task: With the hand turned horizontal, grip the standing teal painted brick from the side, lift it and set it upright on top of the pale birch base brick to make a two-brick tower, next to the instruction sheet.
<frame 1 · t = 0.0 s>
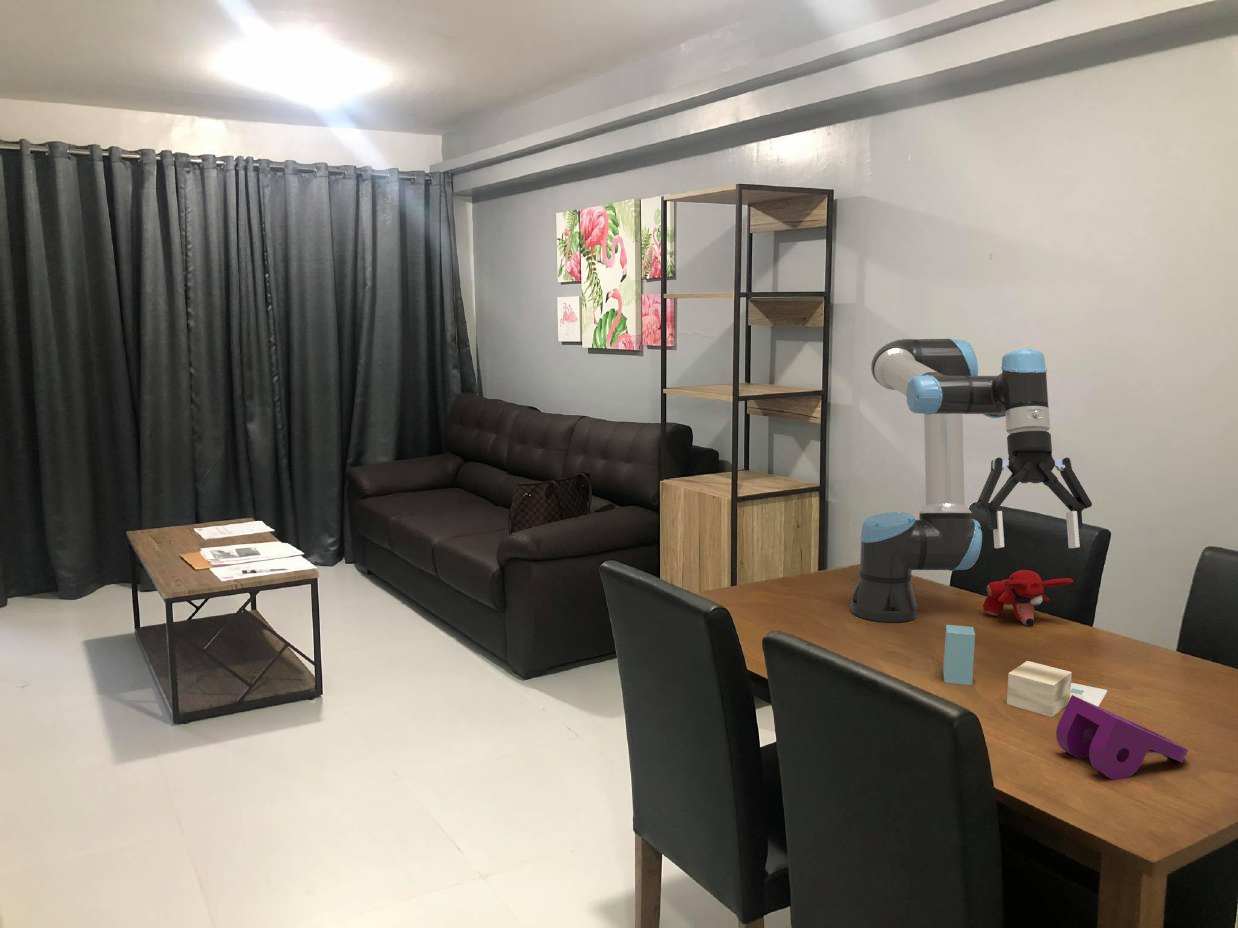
hand: (1036, 547, 177), 28 cm above the table, fingers open, 13 cm apart
instruction sheet: (1074, 695, 181), on the table
mounting bracket: (1126, 762, 155), on the table
teal brick: (957, 679, 189), on the table
toy: (1021, 621, 225), on the table
birch base brick: (1038, 703, 177), on the table, touching instruction sheet
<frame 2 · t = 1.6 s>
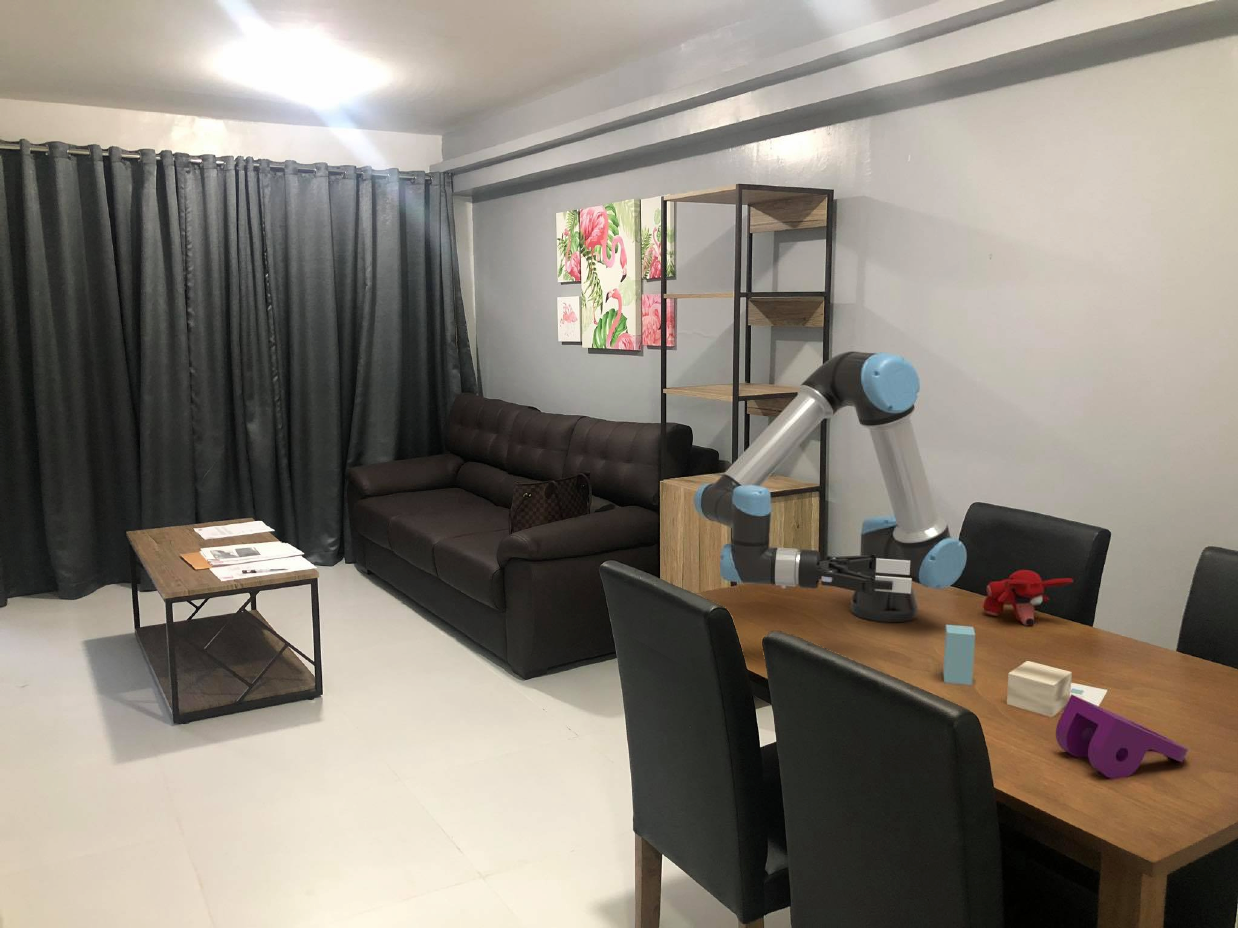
hand: (910, 576, 188), 20 cm above the table, fingers open, 13 cm apart
nothing on the table moved.
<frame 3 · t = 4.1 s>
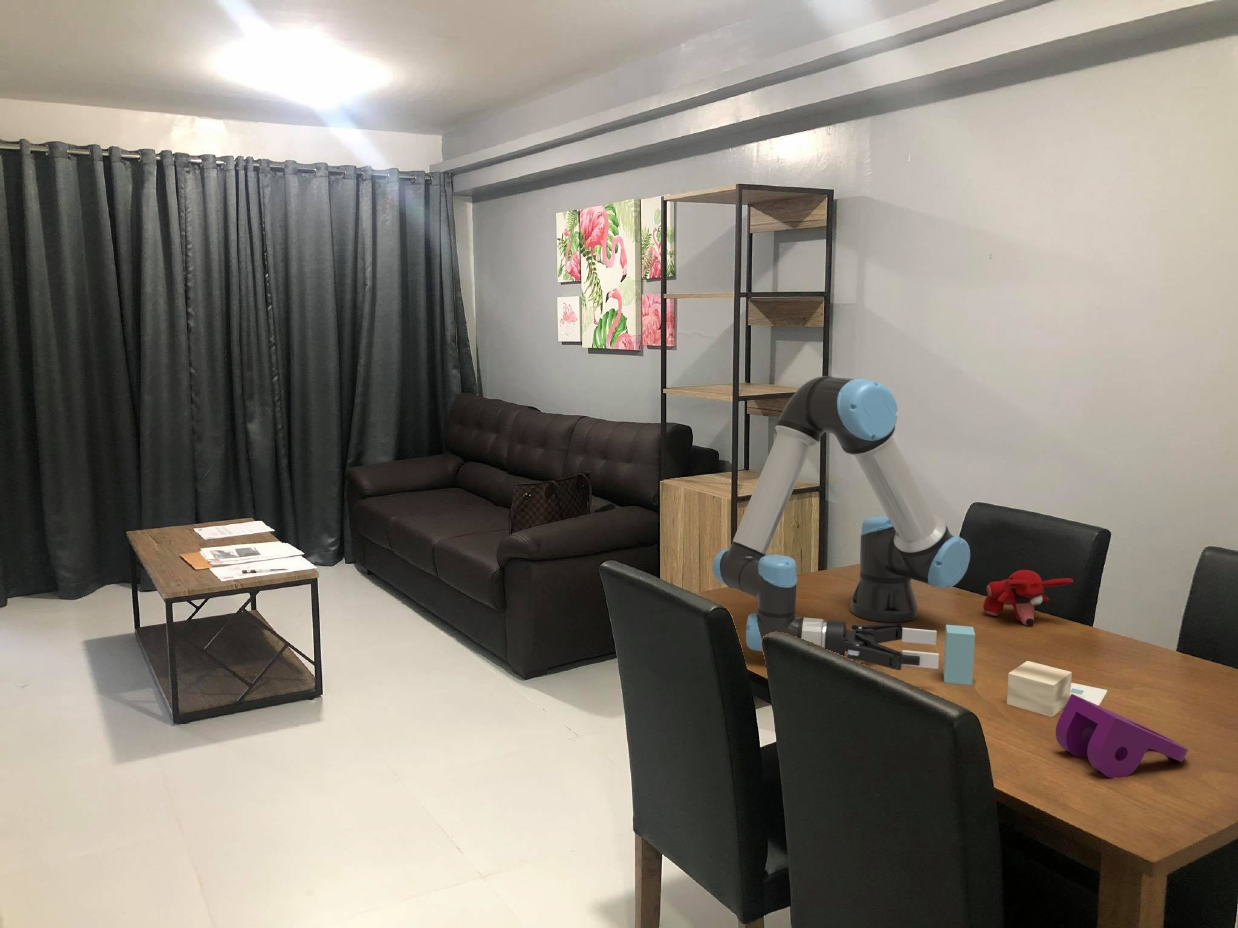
hand: (937, 649, 188), 6 cm above the table, fingers open, 13 cm apart
nothing on the table moved.
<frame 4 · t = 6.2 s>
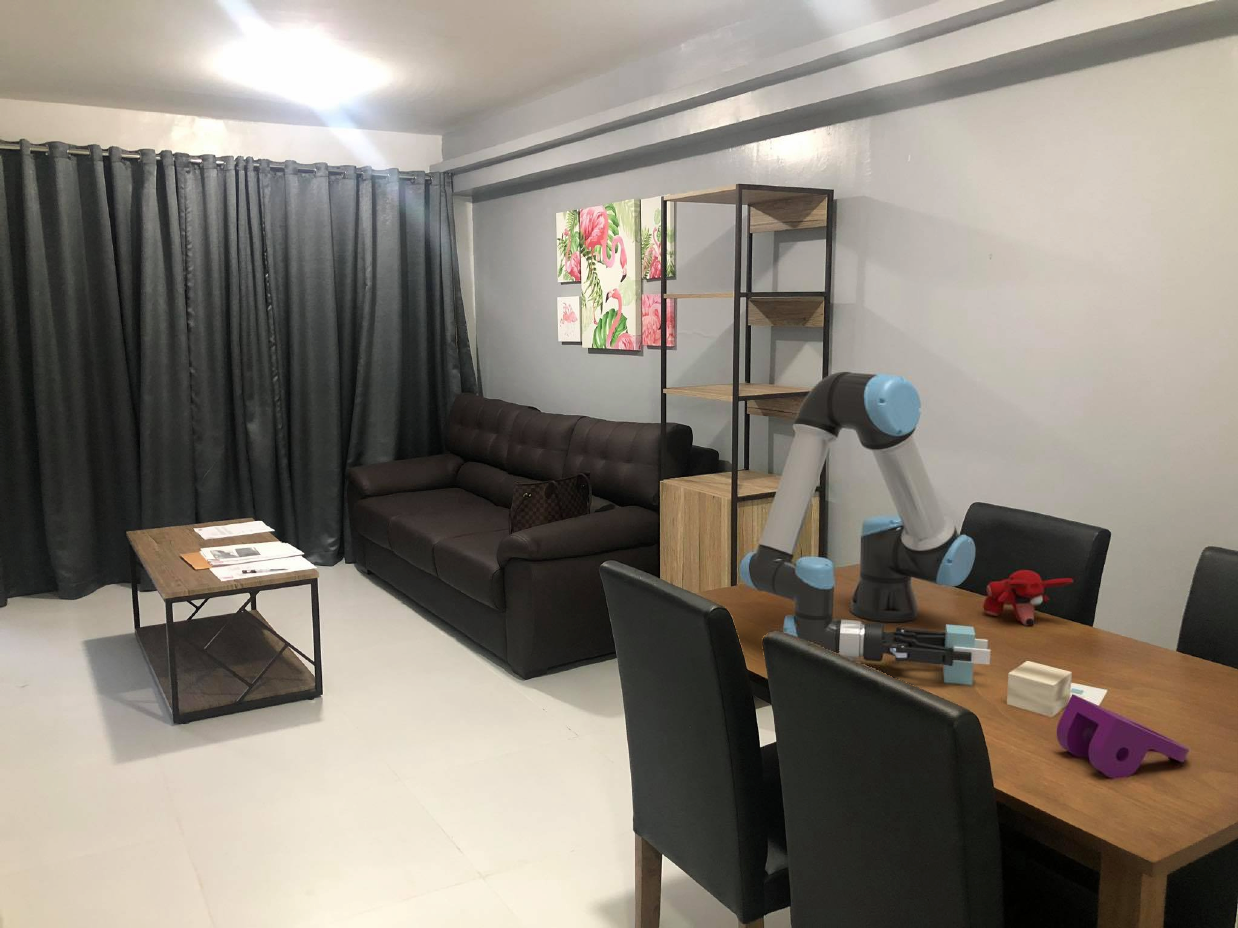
hand: (988, 651, 186), 6 cm above the table, fingers closed on teal brick, 5 cm apart
teal brick: (957, 679, 189), on the table, touching gripper
everything else where it was.
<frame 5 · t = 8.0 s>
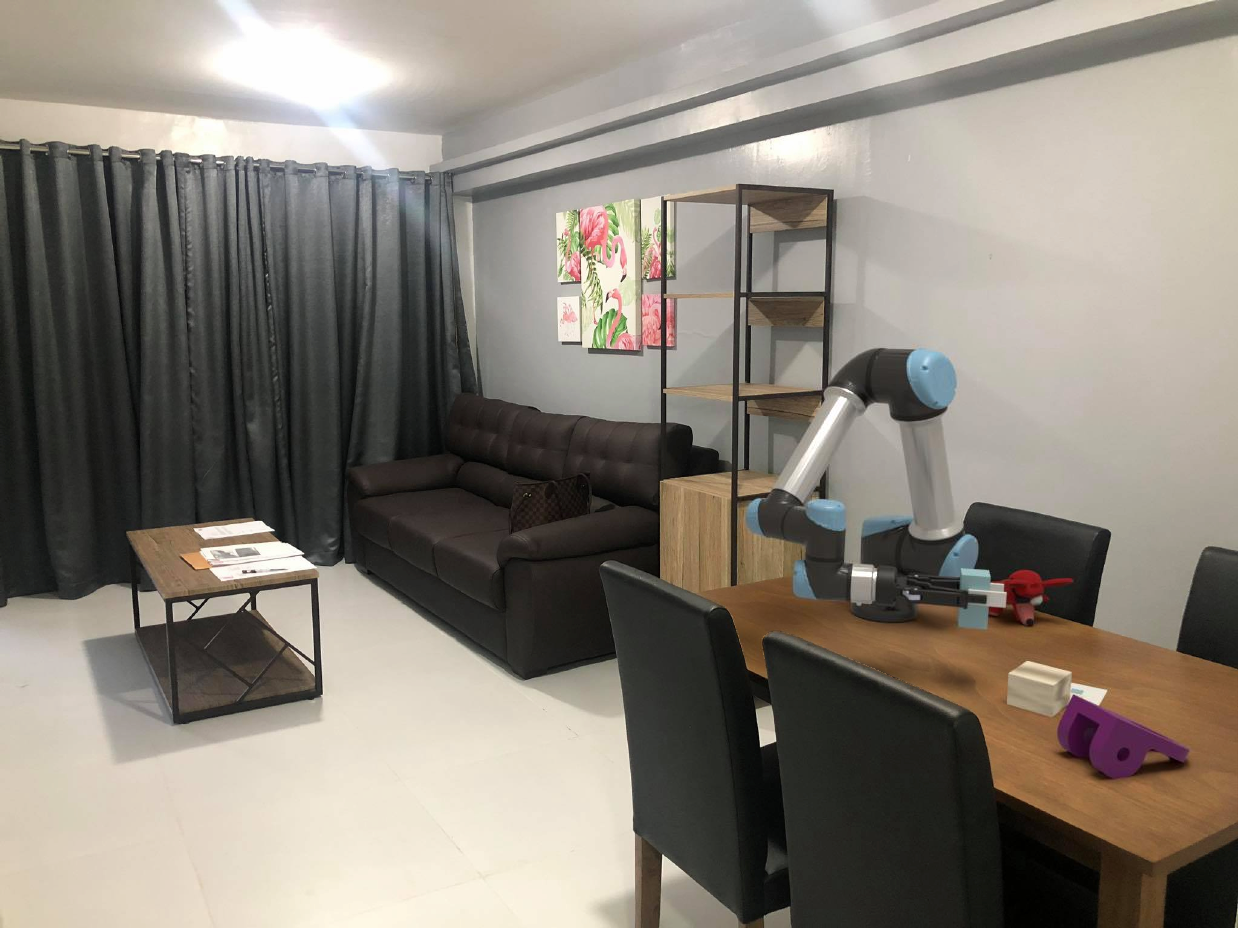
hand: (1004, 595, 181), 18 cm above the table, fingers closed on teal brick, 5 cm apart
teal brick: (972, 624, 184), point 12 cm above the table, touching gripper
everything else where it was.
when the fingers open (13 cm above the table, at t = 10.1 s): teal brick stays where it is, resting on birch base brick.
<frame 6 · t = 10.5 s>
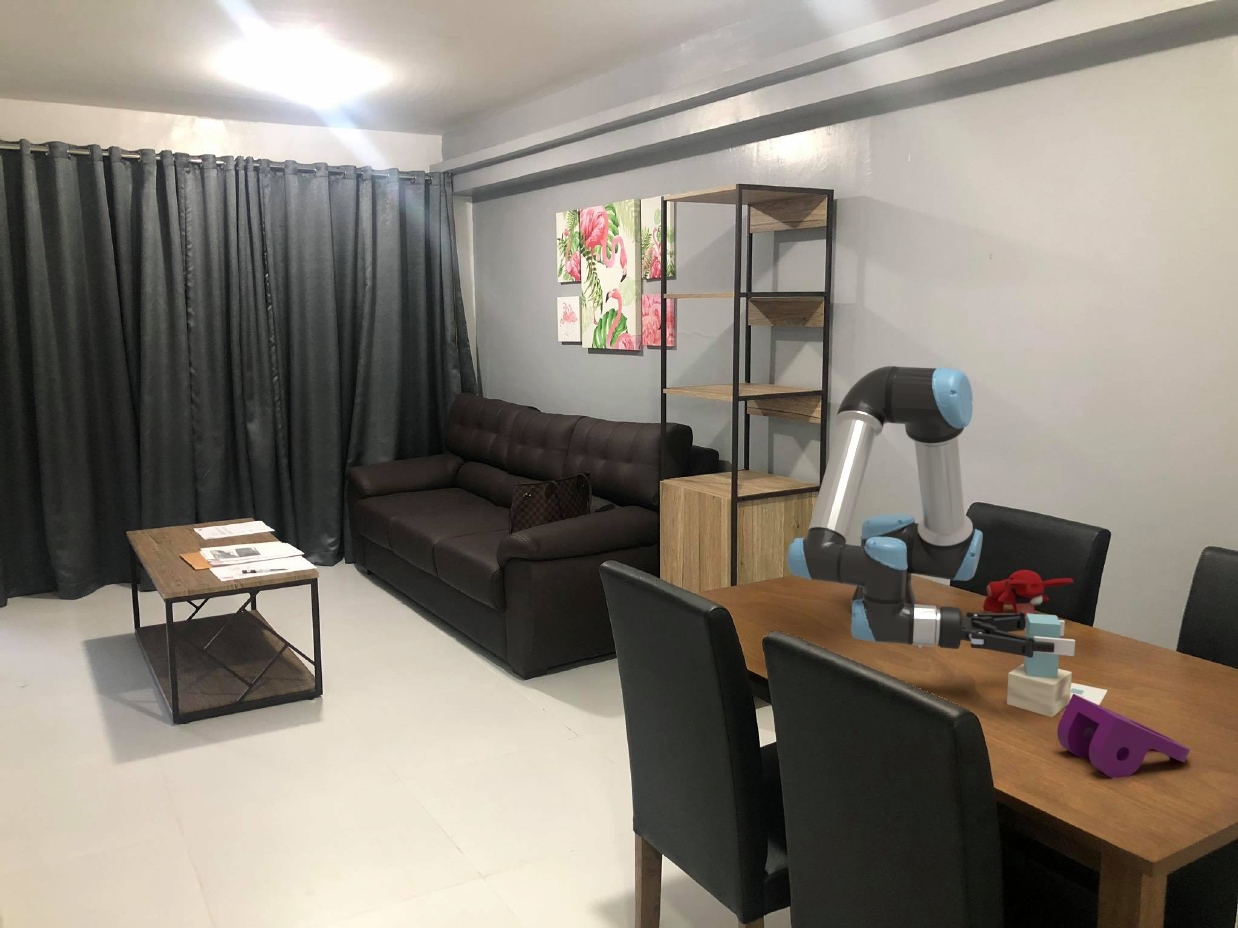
hand: (1068, 637, 173), 13 cm above the table, fingers open, 10 cm apart
teal brick: (1040, 672, 176), point 6 cm above the table, touching birch base brick
birch base brick: (1038, 703, 177), on the table, touching instruction sheet, teal brick
everything else where it was.
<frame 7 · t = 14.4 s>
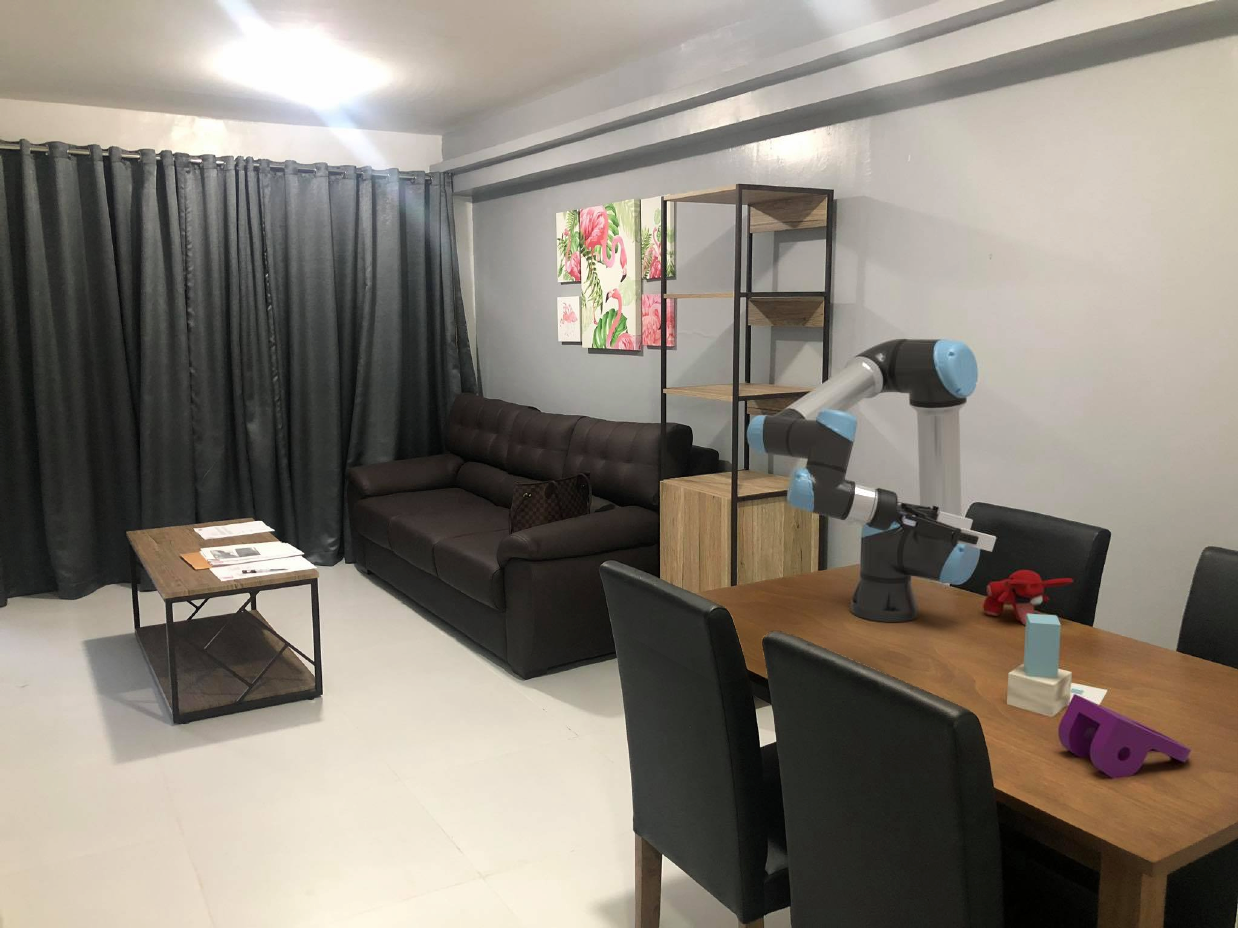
hand: (981, 534, 182), 29 cm above the table, fingers open, 13 cm apart
nothing on the table moved.
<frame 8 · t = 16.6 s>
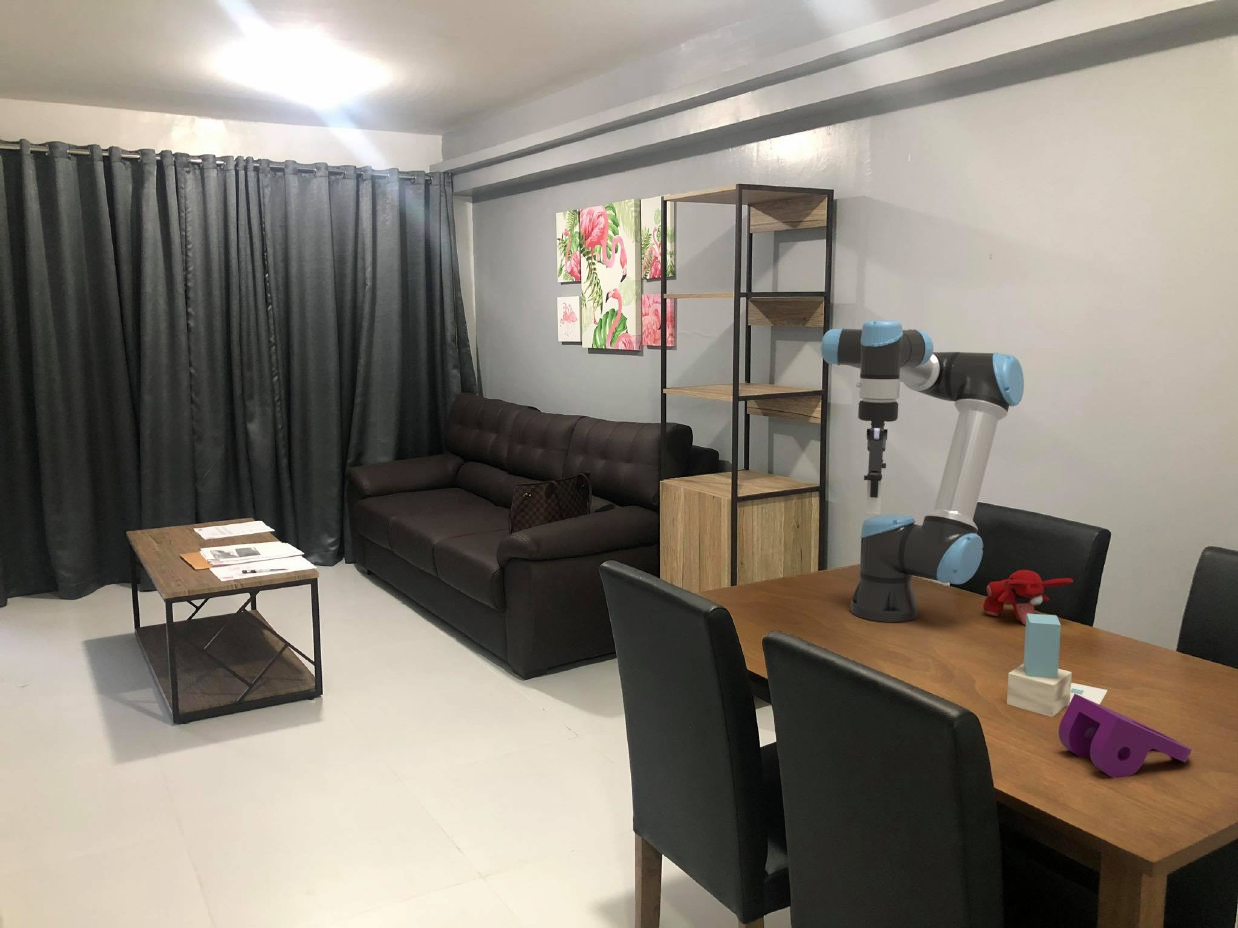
hand: (873, 506, 194), 32 cm above the table, fingers open, 13 cm apart
nothing on the table moved.
at the end: teal brick 0.1 cm off-centre on the birch base brick, point 6.0 cm above the birch base brick's base; teal brick tilted 2°; the gripper is holding nothing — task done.
